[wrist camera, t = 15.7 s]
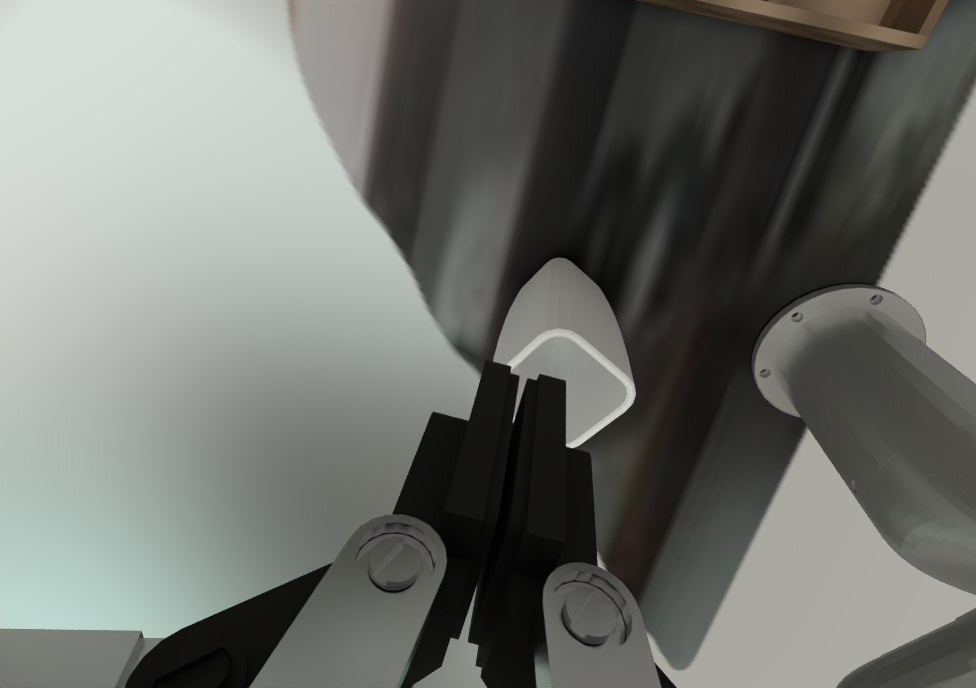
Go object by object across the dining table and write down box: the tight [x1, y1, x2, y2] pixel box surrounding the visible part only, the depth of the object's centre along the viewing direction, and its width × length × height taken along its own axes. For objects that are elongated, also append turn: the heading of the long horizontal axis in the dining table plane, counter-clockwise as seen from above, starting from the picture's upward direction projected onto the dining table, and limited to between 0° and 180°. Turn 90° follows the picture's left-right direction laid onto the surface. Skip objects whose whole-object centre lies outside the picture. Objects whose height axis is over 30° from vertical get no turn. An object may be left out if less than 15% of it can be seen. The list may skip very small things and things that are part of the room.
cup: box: [493, 258, 636, 448], centre depth 36 cm, size 7×7×15 cm
